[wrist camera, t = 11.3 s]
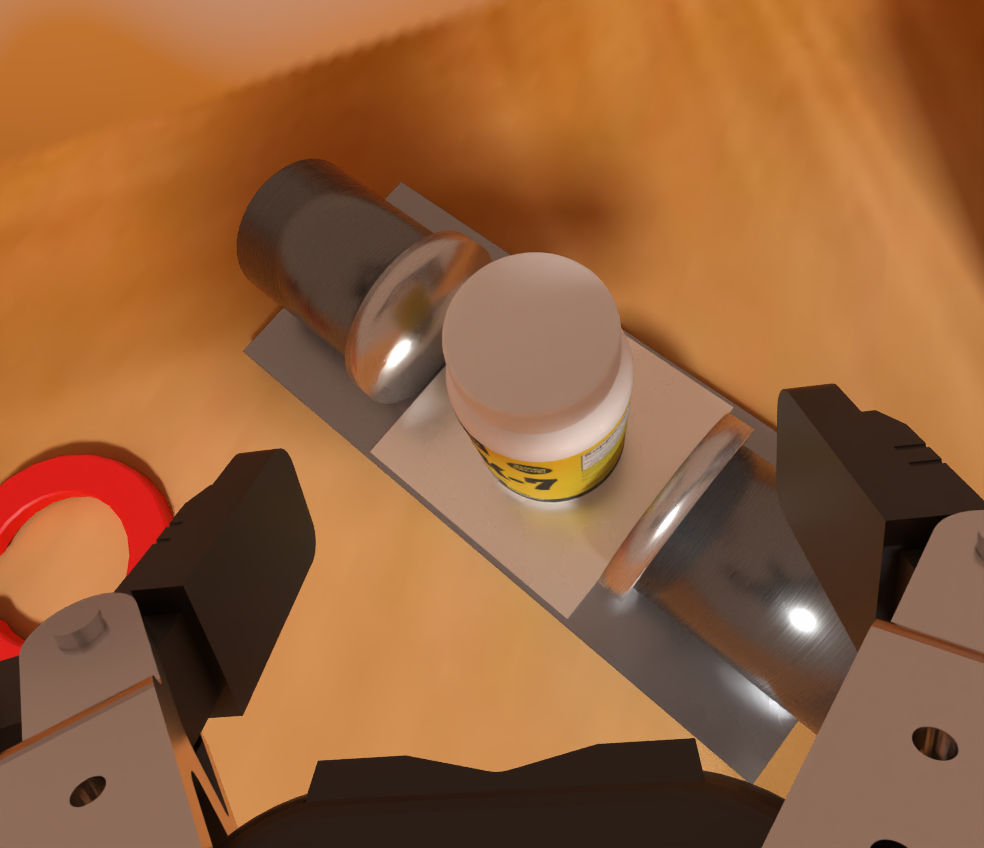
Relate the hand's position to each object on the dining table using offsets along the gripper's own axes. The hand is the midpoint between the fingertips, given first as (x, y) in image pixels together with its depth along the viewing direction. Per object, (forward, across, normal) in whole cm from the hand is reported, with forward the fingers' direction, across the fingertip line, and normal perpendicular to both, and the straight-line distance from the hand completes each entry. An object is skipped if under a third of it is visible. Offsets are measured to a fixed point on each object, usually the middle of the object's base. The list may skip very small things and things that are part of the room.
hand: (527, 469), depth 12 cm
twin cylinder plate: (+12, 0, +6) cm, 13 cm away
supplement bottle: (+11, 0, +5) cm, 12 cm away
